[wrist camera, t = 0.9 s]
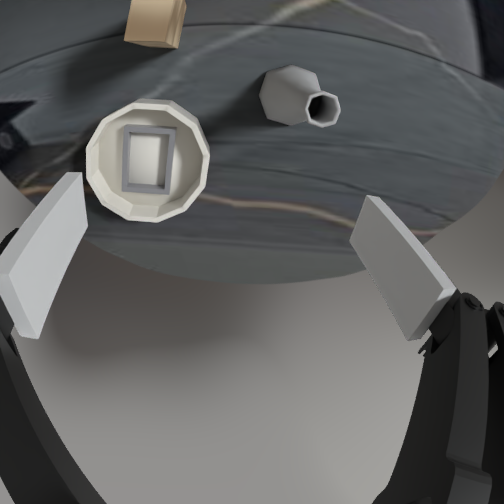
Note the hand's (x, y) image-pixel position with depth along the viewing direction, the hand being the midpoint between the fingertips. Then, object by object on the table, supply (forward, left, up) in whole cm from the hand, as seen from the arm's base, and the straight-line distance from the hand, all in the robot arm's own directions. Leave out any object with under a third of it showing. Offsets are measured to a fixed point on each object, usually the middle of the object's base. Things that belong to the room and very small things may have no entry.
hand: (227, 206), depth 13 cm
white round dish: (+5, -6, -22) cm, 23 cm away
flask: (-4, +8, -22) cm, 24 cm away
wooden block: (-10, -6, -22) cm, 25 cm away
